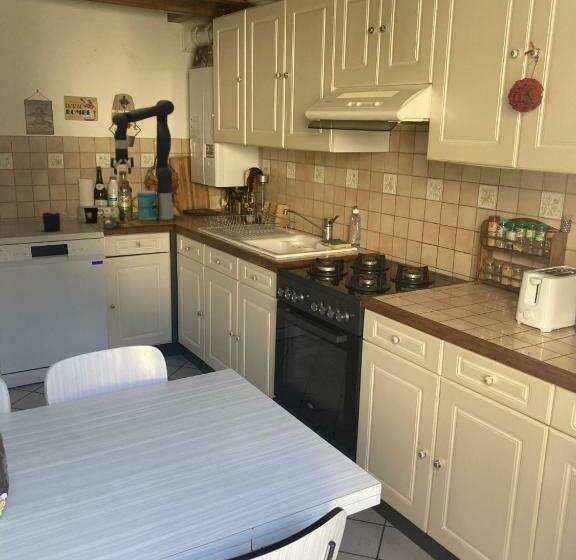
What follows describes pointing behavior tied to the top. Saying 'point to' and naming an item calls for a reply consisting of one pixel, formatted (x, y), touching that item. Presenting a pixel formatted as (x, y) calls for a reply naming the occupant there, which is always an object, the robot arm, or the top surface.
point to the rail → (132, 224)
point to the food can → (147, 205)
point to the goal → (105, 224)
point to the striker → (122, 219)
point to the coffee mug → (91, 214)
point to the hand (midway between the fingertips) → (122, 174)
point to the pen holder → (51, 222)
